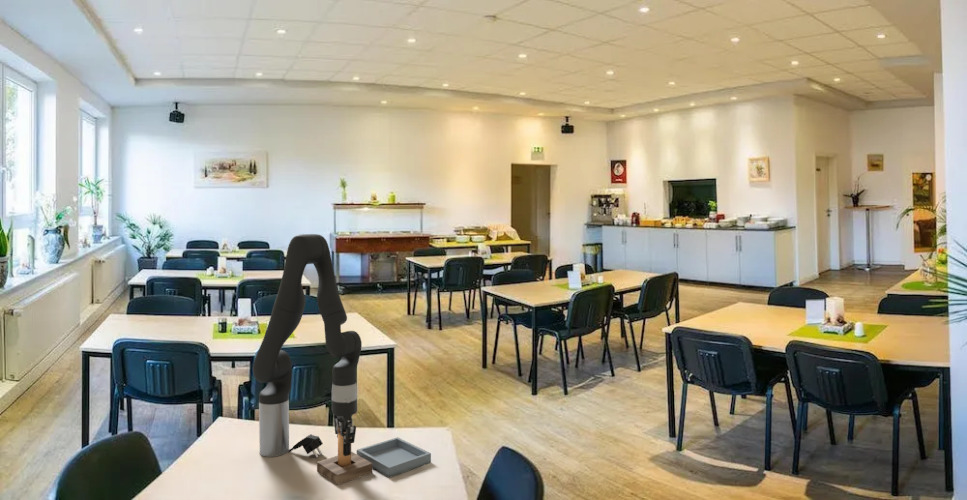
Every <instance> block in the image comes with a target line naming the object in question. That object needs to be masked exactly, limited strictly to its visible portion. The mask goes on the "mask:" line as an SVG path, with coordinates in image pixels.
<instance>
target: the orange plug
mask: <svg viewBox="0 0 967 500" xmlns="http://www.w3.org/2000/svg"><path fill="white" fill-rule="evenodd" d="M344 433H346V432H344ZM345 438H346V436H345ZM337 456H338V466H340V467H341V468H342V467H345V466H348V465H351V454H350V455H348V456H344V455H343V437H342V436H341V432H340V433H338V438H337Z"/></svg>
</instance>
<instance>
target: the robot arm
mask: <svg viewBox="0 0 967 500" xmlns="http://www.w3.org/2000/svg"><path fill="white" fill-rule="evenodd" d="M332 261H333V260H332V255H331V250H330V247H329V243H328V241H327V239H326V238H325V237H324V236H323V235H321V234H316V233H315V234H314V233H312V234H311V233H310V234H309V233H308V234H304V233H303V234H296V235H294V236H293V237H292V238H291V240H290V241H289V243H288V248H287V251H286V256H285V261H284V267H283V272H282V277H281V281H280V284H279V287H278V291H277V295H276V297H275V301H274V302H273V303H274V304H273V307H272V311H271V315H270V317H269V321H268V324H267V326H266V327H267V328H266V330H265V333H264V336H263V339H262V341H261V344H260V346H259V349H258V351H257V353H256V355H255V358H254V361H253V364H252V373H253V376H254V379H255V380H256V381H257V382H258V383H261V384H266V386H265V387H264V388H263V389H262V390H261V391H260V392H259V394H258V409H259V410H258V415H259V416H258V418H259V420H258V421H259V422H258V426H259V429H258V430H259V432H258V433H259V454H260V455H261V456H263V457H270V458H271V457H272V458H273V457H279V456H281V455H282V456H283V455H285V454H287V453H289V452H288V450H290V412H289V411H290V409H289V408H290V407H289V405H290V401H289V399H290V398H289V397H290V392H291V390H292V377H293V376H292V375H293V374H292V373H293V368H292V367H293V364H292V359H291V356H290V354H288V352H287V351H285V350H282V347H283V346H284V345H285V343H286V342H287V340H288V339H289V338H290V337H291V335H292V334H293V333H294V332H295V330H296V329H297V328H298V326H299V325H300V322H301V320H302V318H303V315H304V314H303V313H304V312H305V307H306V297H305V296H306V295H305V293H304V288H303V283H302V281H303V275H304V272H305V269H306V266H307V265H313V266H314V267H315V270H316V272H317V277H318V279H317V280H318V285H317V294H316V302H317V306H318V310H319V314H320V315H321V318H322V319H321V320H322V321H323V325H324V339H325V346H326V350H327V351H328V353H329V354H330V356H332V357H333V358H336V359H337V358H340V360H339V361H338V362H337V363H336V364H333V367H332V373H331V374H332V386H331V413H332V415H333V425H334V433H335V435H337V436H336V437H337V439H338V433H340V432H341V436H342V437H343V455H344V456H348V455H350V454H351V452H352V444H353V443H355V438H356V433H357V426H356V425H354V422H353V421H354V420H353V418H352V416H353V415H355V414H356V413H357V412H358V386H357V385H358V384H357V367H358V364H359V362H360V361H359V360H360V356H361V351H362V346H363V345H362V339H361V336H360V334H359V333H358V332H357V331H355V330H347V331H343V332H342V328H341V326H342V325H344V324H345V323H346V322H347V320H348V315H347V312H346V310H345V308H344V305H343V301H342V300H341V296H340V294H339V293H340V292H339V290H338V286H337V281H336V277H335V271H334V265H333V262H332ZM344 432H346V433H344ZM345 436H346V438H345Z"/></svg>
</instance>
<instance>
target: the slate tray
mask: <svg viewBox="0 0 967 500" xmlns="http://www.w3.org/2000/svg"><path fill="white" fill-rule="evenodd" d="M356 454H357V455H359V456H360V457H362V458H364V459H366V460H367V461H369V462H371V463H372V469H374V470H375V471H377V472H379V473H380V474H382V475H384V476H386V477H387V478H392V477H394V476H396V475H400V474H402V473H405V472H408V471H410V470H414V469H417V468H420V467H422V466H424V465H425V466H426V465H428V464H431V463H432V453H431V452H429V451H427V450H425V449H423V448H421V447H420V446H417V445H415V444H412V443H411V442H408V441H406V440H405V439H402V438H400V437H399V436H397V437H395V438H391V439H388V440H383V441H381V442H378V443H375V444H372V445H367V446H365V447H361V448H358V449H356Z"/></svg>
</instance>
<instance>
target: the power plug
mask: <svg viewBox="0 0 967 500" xmlns="http://www.w3.org/2000/svg"><path fill="white" fill-rule="evenodd" d="M323 444H324V443H323V442H322V439H321V438H320V436H318V435H314V434H310V433H309V435H307V436H306V437H304V438H302V439H301V440H299V441H298V442H296V444H294V445H293V446H292V448H289V450H288V452H287V453H290V452H292V451H293V450H294V451H295V450H297V449H299V448H303V449H304V452H305V453H306V455H309V454H311V453H312V454H313V455H314V457H315V458H316V459H319V455H320V456H322V455H323V452H322V450H321V449H320V447H321V446H322V445H323ZM315 450H316V451H317V452H318V453H319V455H318V453H317V452H316V451H315Z"/></svg>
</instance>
